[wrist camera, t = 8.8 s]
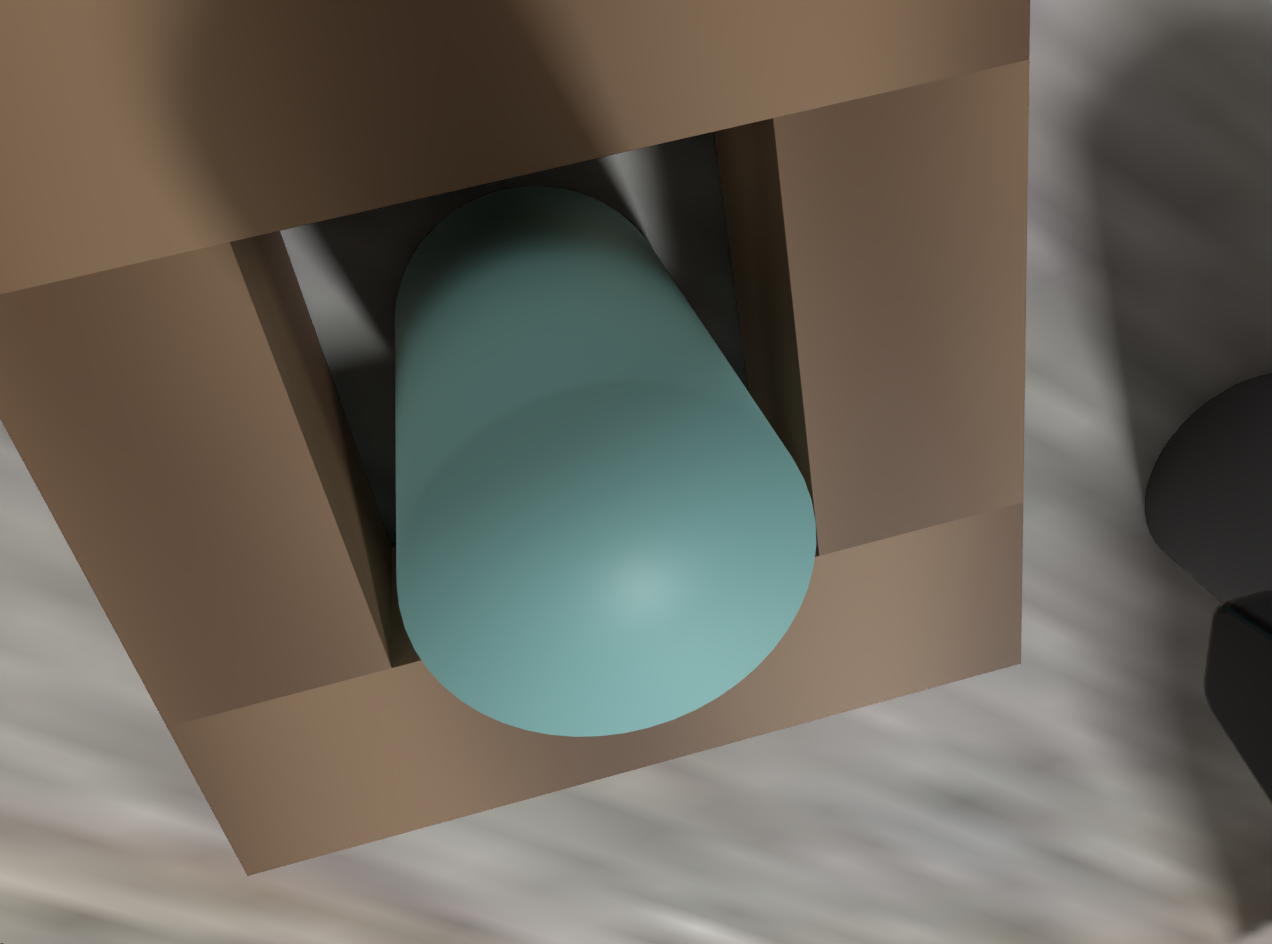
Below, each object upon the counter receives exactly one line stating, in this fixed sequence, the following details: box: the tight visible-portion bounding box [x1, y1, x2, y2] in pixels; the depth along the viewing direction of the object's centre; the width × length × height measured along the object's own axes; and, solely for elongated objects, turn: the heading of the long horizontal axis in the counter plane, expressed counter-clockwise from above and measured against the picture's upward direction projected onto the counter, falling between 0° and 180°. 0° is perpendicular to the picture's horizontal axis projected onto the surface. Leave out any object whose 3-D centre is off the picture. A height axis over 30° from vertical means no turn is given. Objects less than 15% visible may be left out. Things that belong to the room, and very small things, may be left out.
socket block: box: [0, 0, 1030, 876], centre depth 15 cm, size 12×12×3 cm
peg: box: [395, 186, 816, 737], centre depth 13 cm, size 4×4×6 cm
